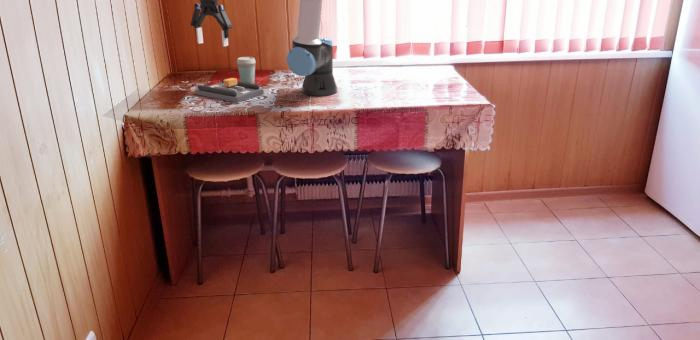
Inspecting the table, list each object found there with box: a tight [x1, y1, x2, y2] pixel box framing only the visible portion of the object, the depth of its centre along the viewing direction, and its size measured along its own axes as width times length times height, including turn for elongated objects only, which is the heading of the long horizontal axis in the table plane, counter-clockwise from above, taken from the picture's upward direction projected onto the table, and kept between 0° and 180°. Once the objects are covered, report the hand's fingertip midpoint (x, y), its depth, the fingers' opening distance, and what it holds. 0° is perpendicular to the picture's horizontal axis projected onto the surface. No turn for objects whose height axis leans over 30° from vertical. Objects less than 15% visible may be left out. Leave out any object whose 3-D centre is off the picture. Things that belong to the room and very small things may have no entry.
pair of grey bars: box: [197, 78, 261, 96], centre depth 218 cm, size 21×16×2 cm
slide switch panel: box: [195, 81, 264, 103], centre depth 219 cm, size 24×16×3 cm, turn 59°
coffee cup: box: [236, 56, 257, 84], centre depth 233 cm, size 8×9×12 cm
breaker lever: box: [223, 77, 238, 89], centre depth 217 cm, size 3×5×4 cm, turn 148°
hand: (213, 44), depth 217 cm, fingers open, 13 cm apart
